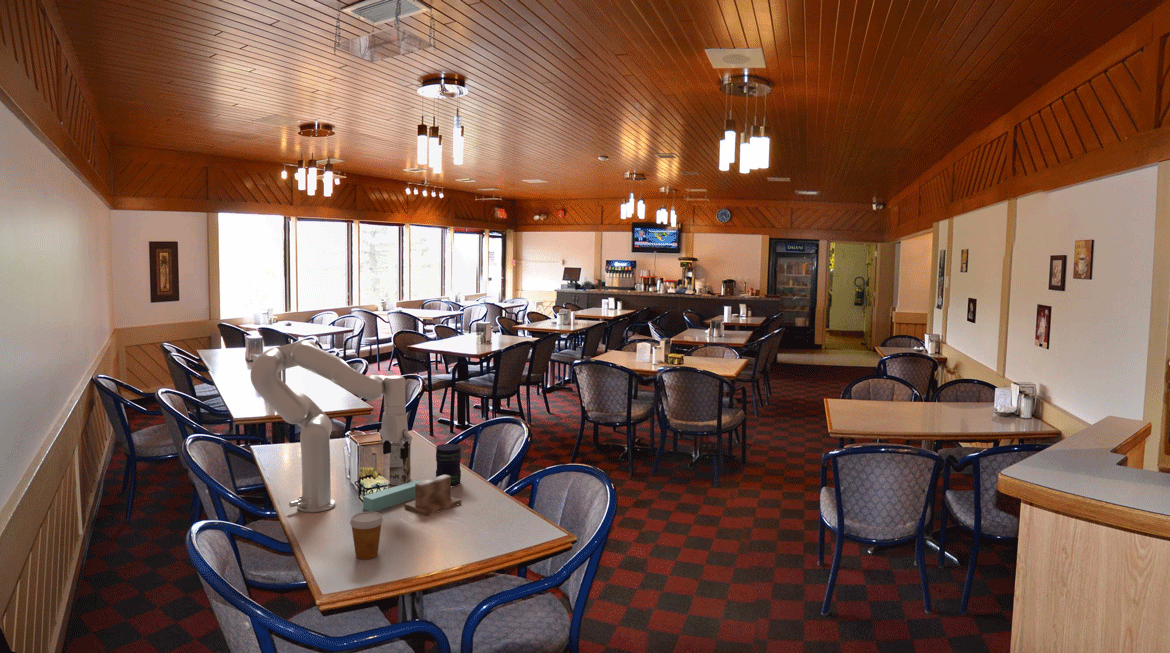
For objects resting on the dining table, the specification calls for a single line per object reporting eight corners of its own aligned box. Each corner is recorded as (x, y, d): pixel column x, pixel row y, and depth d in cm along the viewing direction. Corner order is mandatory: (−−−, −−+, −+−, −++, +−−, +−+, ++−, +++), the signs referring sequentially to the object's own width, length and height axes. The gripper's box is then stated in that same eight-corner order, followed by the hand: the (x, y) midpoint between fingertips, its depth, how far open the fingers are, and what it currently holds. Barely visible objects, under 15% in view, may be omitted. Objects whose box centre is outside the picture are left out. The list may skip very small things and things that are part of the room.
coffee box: (405, 485, 275) (404, 445, 274) (388, 485, 276) (388, 445, 274) (411, 478, 285) (411, 439, 283) (395, 478, 285) (395, 439, 283)
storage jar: (430, 485, 276) (430, 448, 275) (443, 478, 286) (443, 442, 284) (453, 488, 273) (453, 451, 272) (465, 481, 282) (465, 445, 281)
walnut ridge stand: (427, 516, 244) (427, 488, 243) (404, 508, 251) (404, 481, 250) (461, 503, 257) (461, 477, 256) (438, 496, 264) (438, 471, 263)
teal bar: (372, 513, 246) (371, 499, 246) (363, 510, 249) (363, 496, 249) (424, 495, 265) (425, 482, 265) (416, 492, 268) (416, 480, 268)
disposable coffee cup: (386, 548, 216) (386, 511, 215) (378, 562, 206) (378, 522, 205) (355, 548, 215) (355, 510, 214) (345, 562, 206) (345, 522, 205)
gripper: (371, 408, 256) (372, 453, 258) (402, 414, 246) (402, 462, 248) (388, 404, 262) (388, 449, 264) (418, 411, 252) (419, 457, 254)
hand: (395, 455), depth 256 cm, fingers open, 9 cm apart
